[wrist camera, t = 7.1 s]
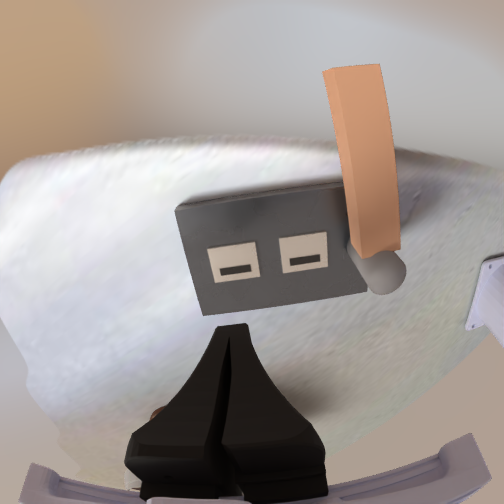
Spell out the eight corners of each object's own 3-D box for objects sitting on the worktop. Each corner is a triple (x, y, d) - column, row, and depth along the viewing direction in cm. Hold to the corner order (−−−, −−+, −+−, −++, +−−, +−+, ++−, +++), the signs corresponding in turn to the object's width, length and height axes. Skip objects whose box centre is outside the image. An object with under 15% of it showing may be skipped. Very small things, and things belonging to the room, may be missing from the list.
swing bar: (381, 256, 20) (405, 288, 16) (348, 264, 20) (368, 299, 17) (356, 69, 15) (386, 62, 11) (316, 73, 15) (337, 65, 11)
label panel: (363, 179, 19) (370, 184, 18) (362, 284, 23) (368, 293, 21) (177, 205, 19) (173, 212, 18) (204, 307, 23) (202, 318, 22)
